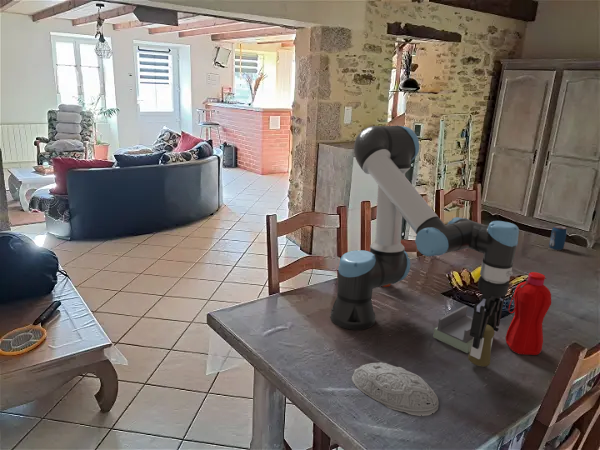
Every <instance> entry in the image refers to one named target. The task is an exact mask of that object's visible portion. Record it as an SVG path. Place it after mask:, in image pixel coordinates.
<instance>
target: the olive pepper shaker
mask: <svg viewBox="0 0 600 450" xmlns="http://www.w3.org/2000/svg"><path fill="white" fill-rule="evenodd" d="M494 337H495V331H494V329H493V328H492V327H491V326H490V325H486V328H485V331H484V335H483V338H484V342H483V347H482V353H481V358H480V359H477V358H475V357H473V356H471V355H470V353H471V350H470V352H469V353H468V356H467V359H468V361H469V362H470V363H471V364H473V365H476V366H477V367H489V366H490V364H491V356H492V355H491V353H492V351H491V350H492V346H491V339H492V338H493V339H494Z"/></svg>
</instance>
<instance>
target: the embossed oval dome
mask: <svg viewBox="0 0 600 450" xmlns="http://www.w3.org/2000/svg"><path fill="white" fill-rule="evenodd" d="M351 381H352V383H353V385H354V384H355V385H354V386H355V387H356V388H357V389H358V390H359V391H360V392H361V391H362V393H363V394H364V393H365V394H364V395H366V396H367V395H368V397H369V398H371V399H372V400H375V401H376V402H378V403H380V404H382V405H384V406H385V407H387V408H388V409H391V410H394V411H399V412H404V413H406V414H408V415H412V416H418V417H419V416H420V417H424V416H430V415H432V413H433V414H435V413H436V412H437V411H438V409H439V407H440V406H439V403H440V402H439V397H438V396H437V394H436V393H435V392H434V390H433V389H432V388H431V386H430V385H429V384H428V383H427V382H426V381H425V380H424V379H423V378H422V377H421V376H419V375H417V374H416V373H413V372H411V371H409V370H406V369H405V368H403V367H401V366H395V365H392V364H388V363H386V362H371V363H366V364H363V365H360V366H359V367H358V368H356V369H354V372H353V374H352V376H351ZM421 415H422V416H421Z"/></svg>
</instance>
